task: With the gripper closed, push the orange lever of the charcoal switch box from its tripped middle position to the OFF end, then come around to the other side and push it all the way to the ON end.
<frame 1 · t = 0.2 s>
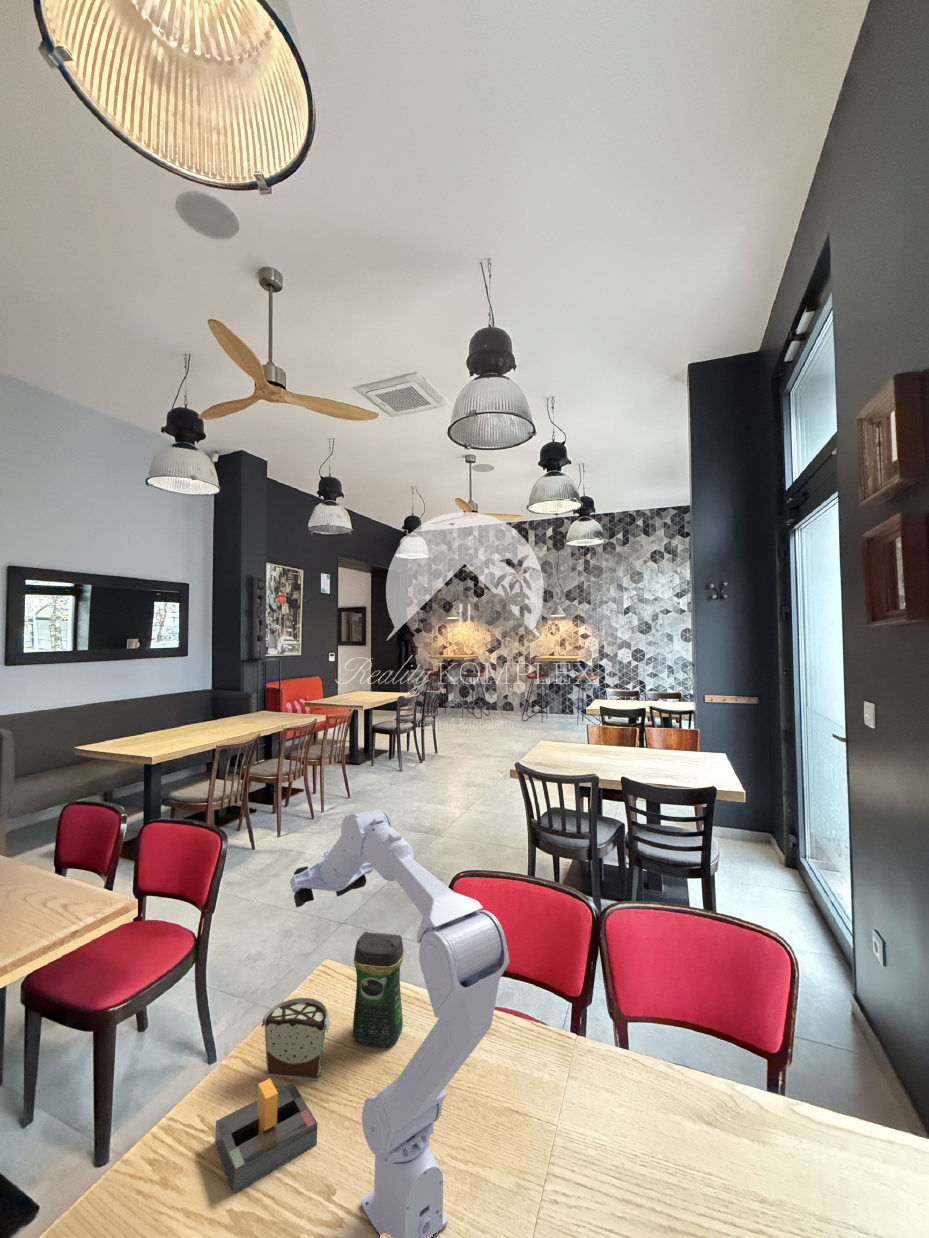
hand: (317, 895, 93), 31 cm above the table, tool tilted 45°, fingers open, 7 cm apart
switch box: (265, 1143, 79), on the table
lever: (267, 1113, 79), point 4 cm above the table, slide at 0.0 cm
coffee jar: (377, 1035, 102), on the table
food container: (299, 1065, 94), on the table
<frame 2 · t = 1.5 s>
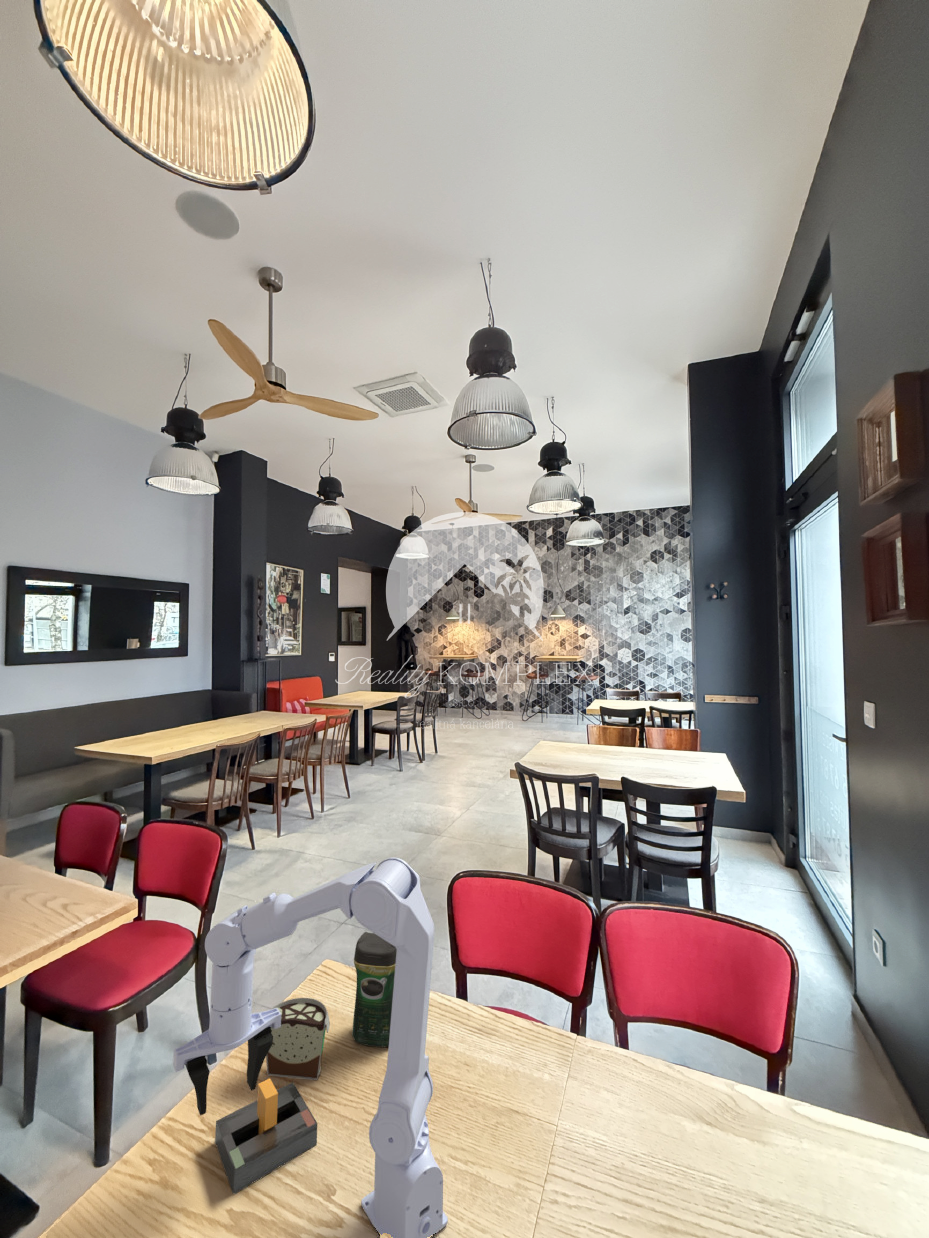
hand: (227, 1097, 76), 9 cm above the table, tool pointing down, fingers open, 6 cm apart
nothing on the table moved.
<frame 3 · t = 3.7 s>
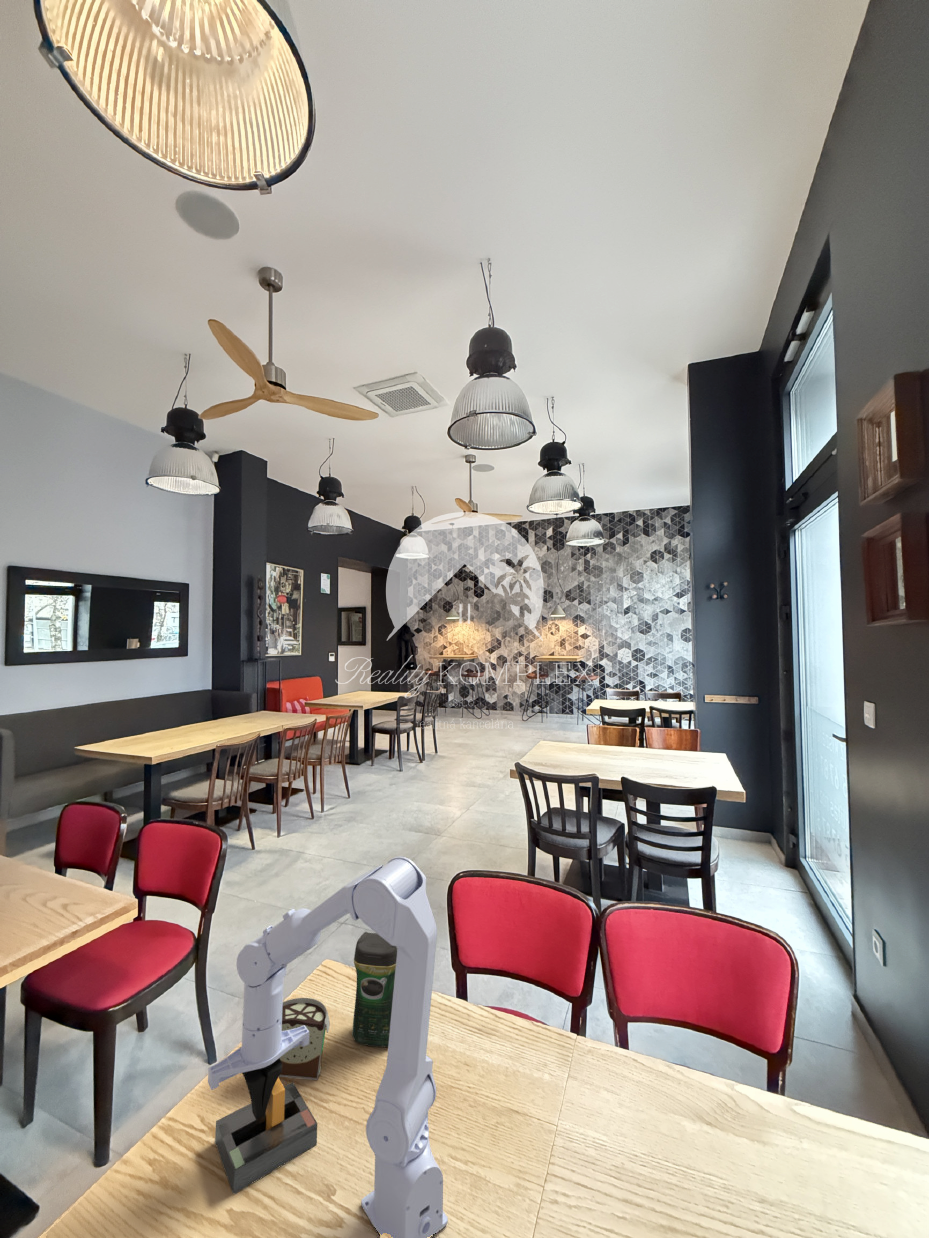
hand: (258, 1113, 78), 5 cm above the table, tool pointing down, fingers closed
lever: (274, 1109, 80), point 4 cm above the table, slide at -1.1 cm, touching gripper
everything else where it was.
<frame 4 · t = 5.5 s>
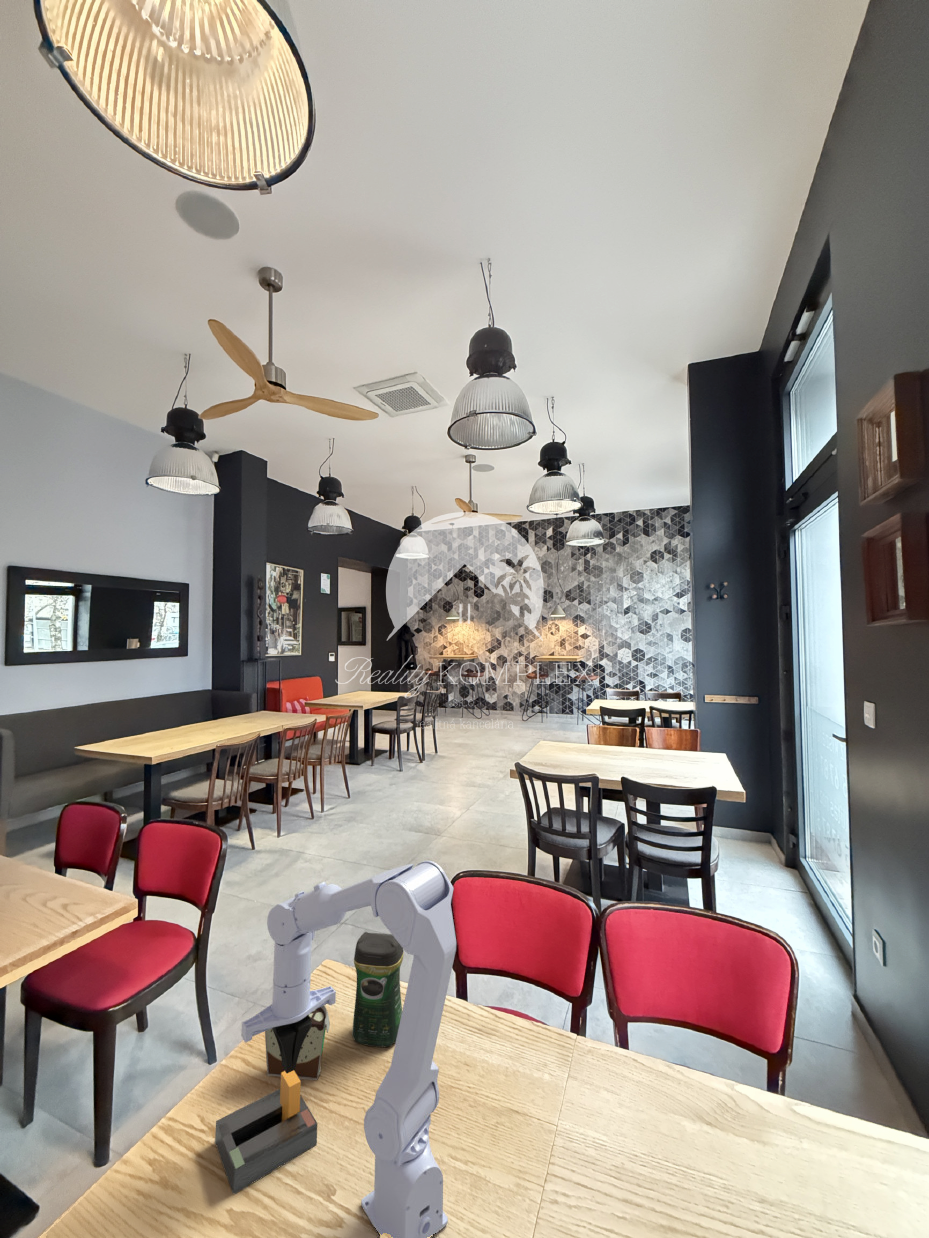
hand: (288, 1067, 81), 9 cm above the table, tool pointing down, fingers closed
lever: (289, 1101, 81), point 4 cm above the table, slide at -3.6 cm
everything else where it was.
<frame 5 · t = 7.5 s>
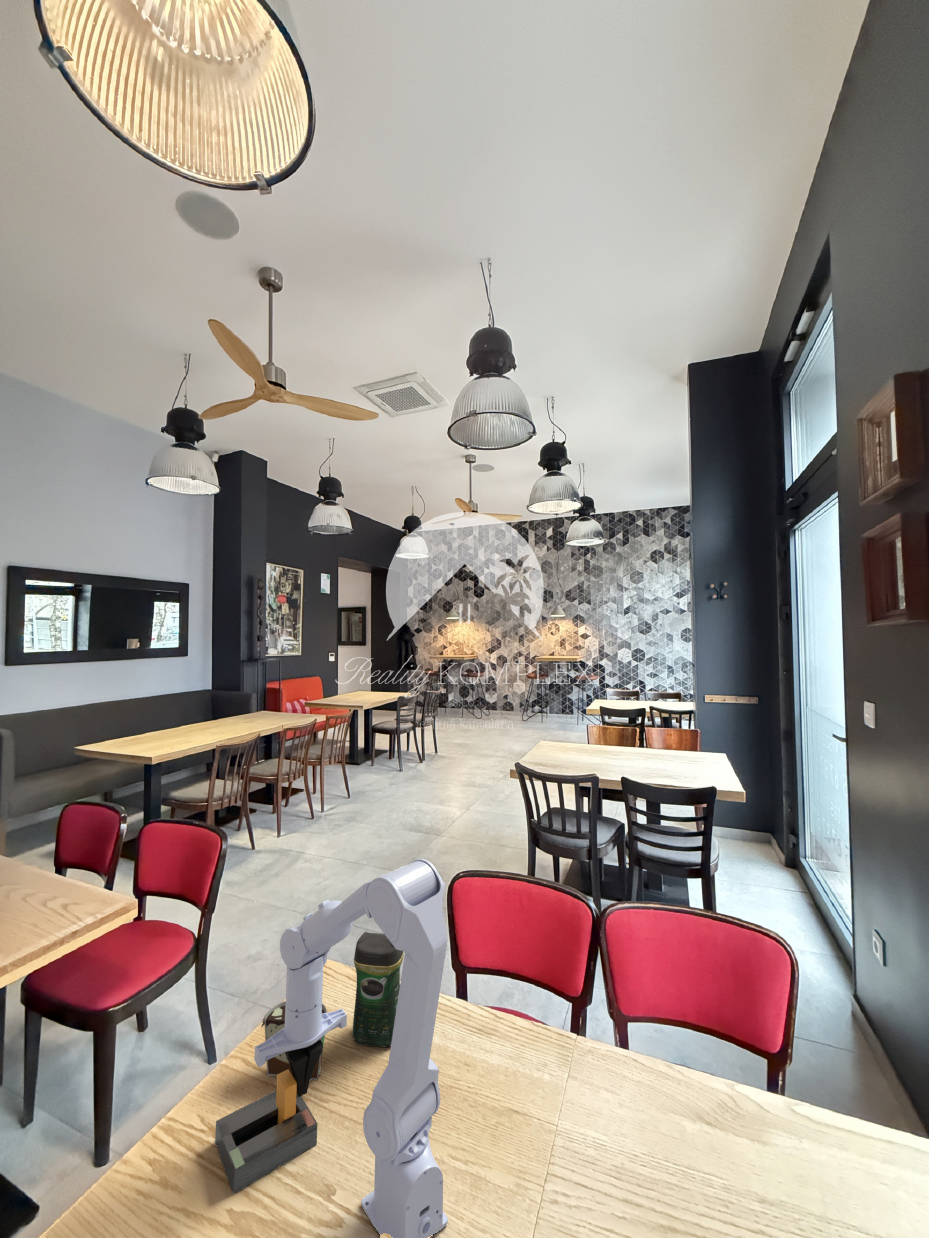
hand: (300, 1090, 82), 5 cm above the table, tool pointing down, fingers closed
lever: (285, 1103, 81), point 4 cm above the table, slide at -2.9 cm, touching gripper
everything else where it was.
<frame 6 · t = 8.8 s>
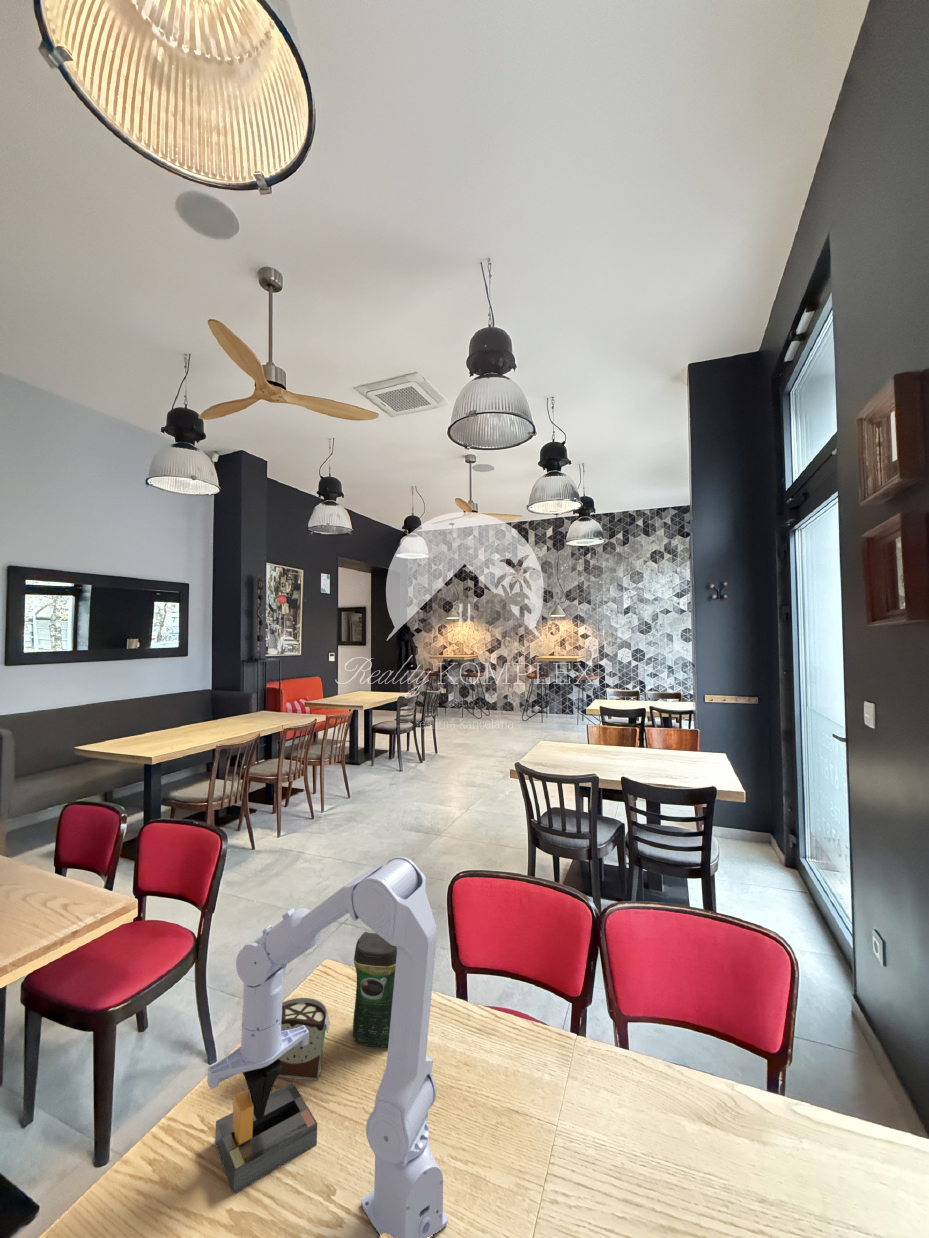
hand: (258, 1113, 78), 5 cm above the table, tool pointing down, fingers closed
lever: (242, 1126, 77), point 4 cm above the table, slide at 3.6 cm, touching gripper
everything else where it was.
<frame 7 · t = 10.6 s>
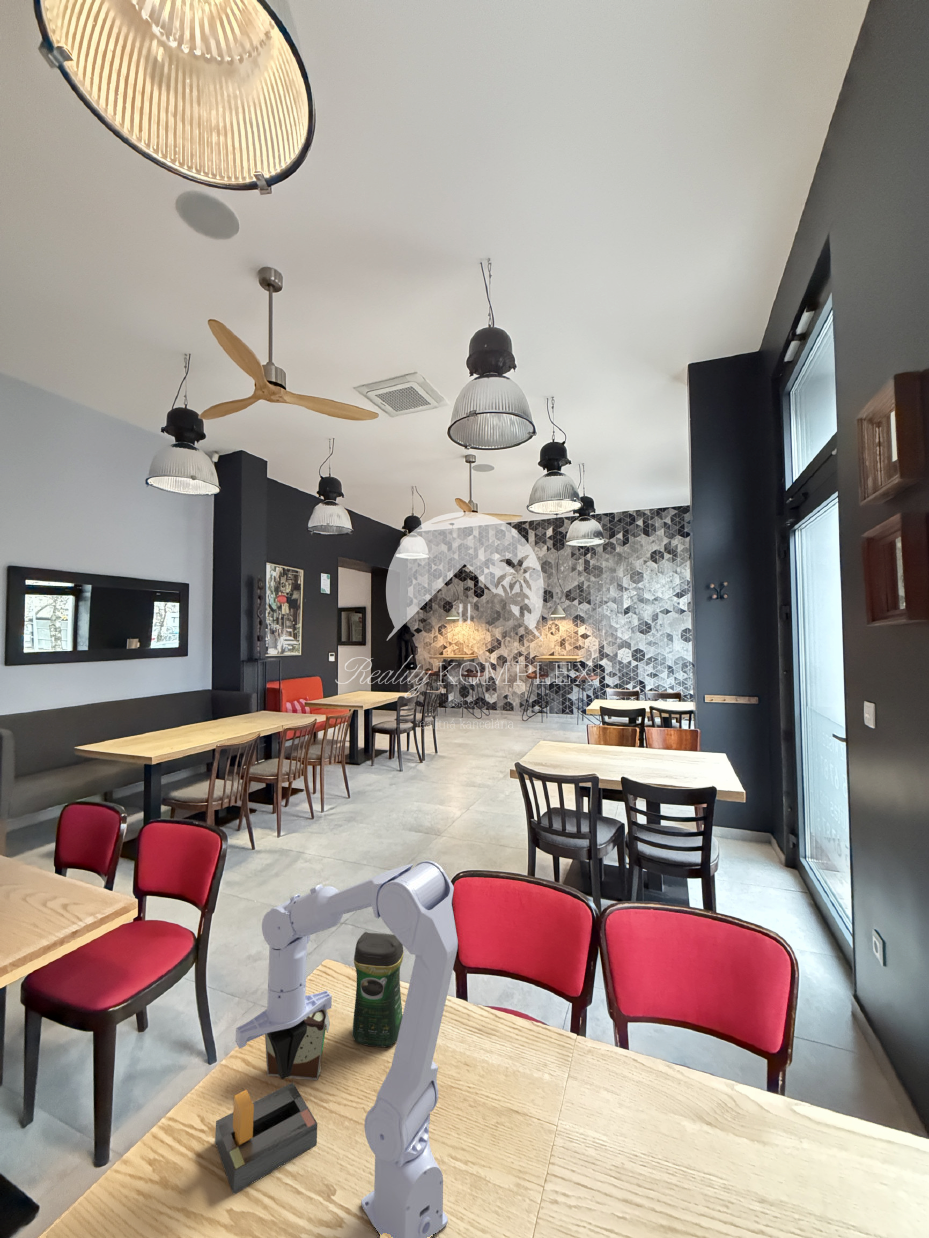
hand: (283, 1073, 80), 9 cm above the table, tool pointing down, fingers closed
lever: (242, 1126, 77), point 4 cm above the table, slide at 3.6 cm
everything else where it was.
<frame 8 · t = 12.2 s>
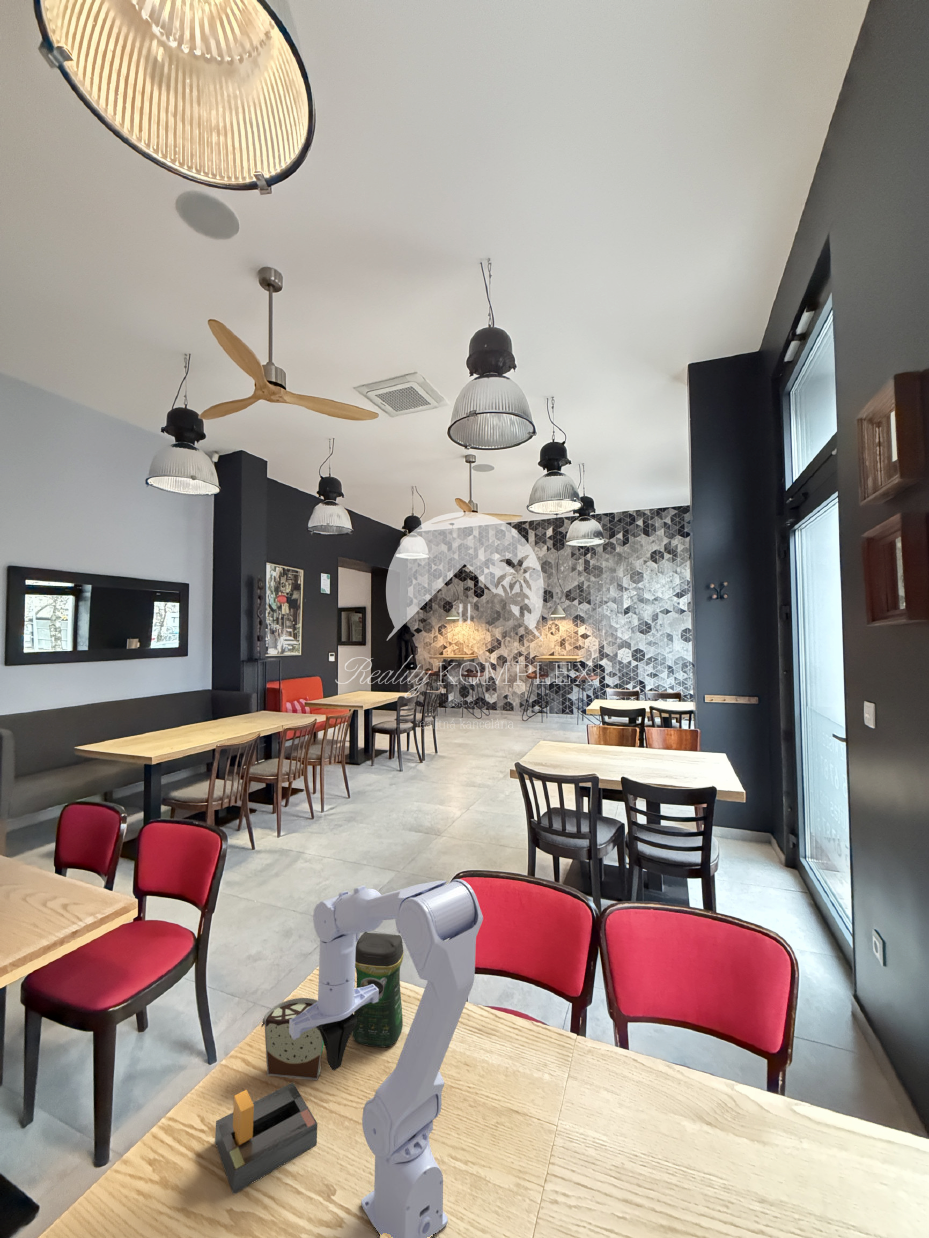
hand: (334, 1064, 82), 9 cm above the table, tool pointing down, fingers closed
nothing on the table moved.
at the end: lever slide at 3.6 cm; food container moved 0.2 cm from its start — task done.
